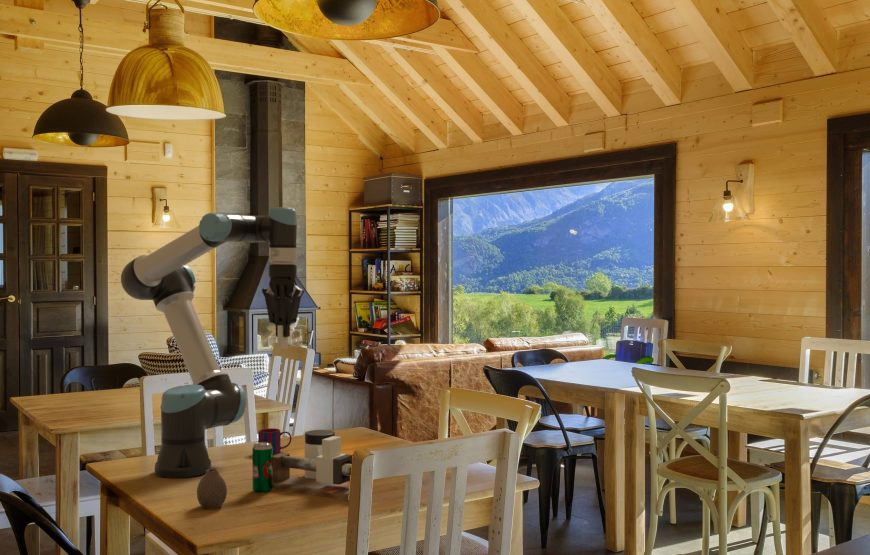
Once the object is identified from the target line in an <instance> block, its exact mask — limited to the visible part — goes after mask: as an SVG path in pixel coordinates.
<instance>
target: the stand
mask: <svg viewBox="0 0 870 555" xmlns="http://www.w3.org/2000/svg"><path fill="white" fill-rule="evenodd" d="M283 456H291V454H290V453H287V452H286V453H285V452H282V453H278V454H275V455H273V489H272V490H279V491H286V492H292V493H297V494H298V493H300V494H304V495H305V494H306V495H312V496H319V497H325V498H332V499H338V500H339V499H340V500H346V501H349V500H348V495H349V483H350V482H345V483H343V484H340V485H338V484H331V483H324V482H317V481H316V479H312V478H305V476H297V475H296V476H295V475H291V472H290V470H291V468H285V467H282V466H281V464H280V461H281V458H282V457H283ZM350 475H351V467H350Z"/></svg>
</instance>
